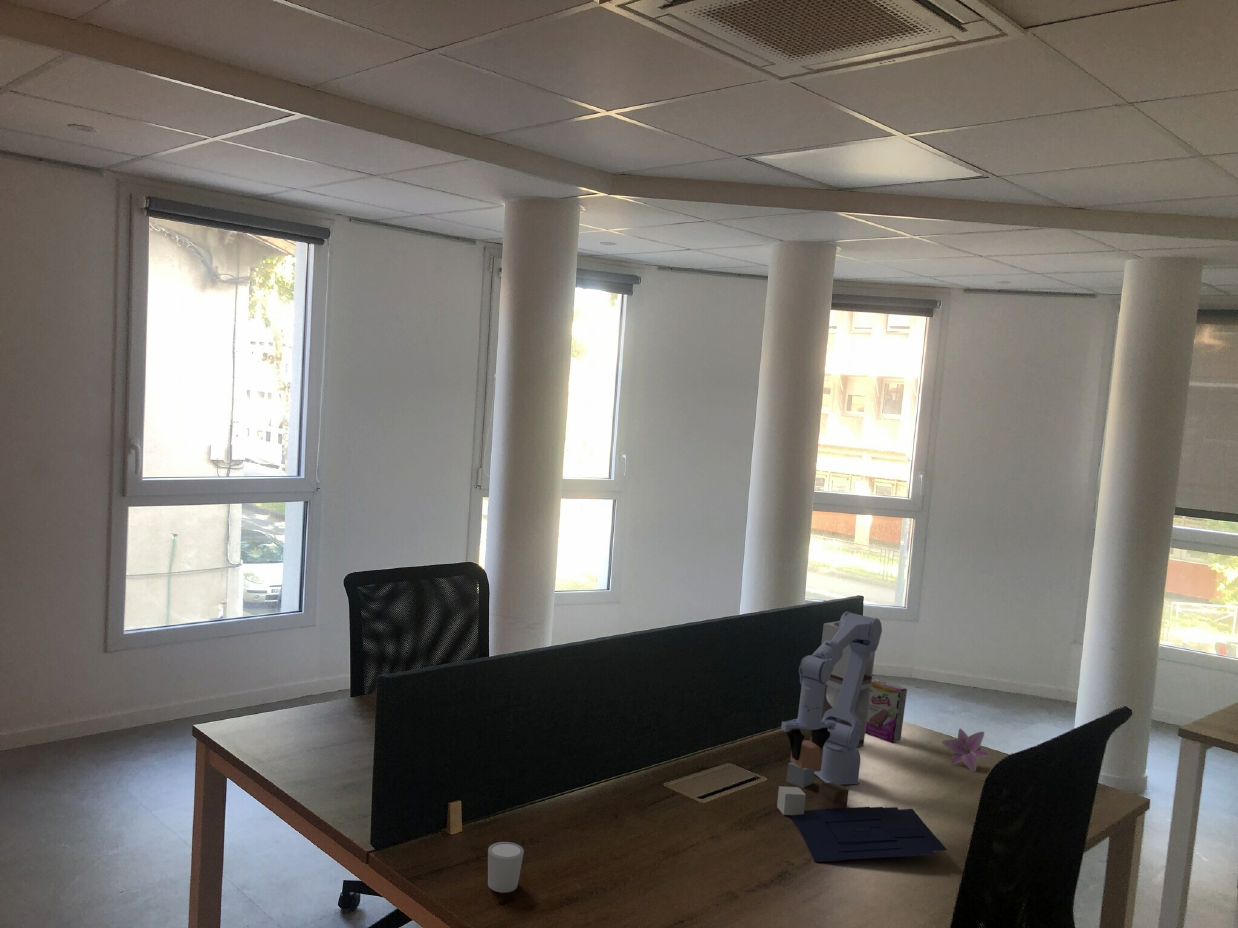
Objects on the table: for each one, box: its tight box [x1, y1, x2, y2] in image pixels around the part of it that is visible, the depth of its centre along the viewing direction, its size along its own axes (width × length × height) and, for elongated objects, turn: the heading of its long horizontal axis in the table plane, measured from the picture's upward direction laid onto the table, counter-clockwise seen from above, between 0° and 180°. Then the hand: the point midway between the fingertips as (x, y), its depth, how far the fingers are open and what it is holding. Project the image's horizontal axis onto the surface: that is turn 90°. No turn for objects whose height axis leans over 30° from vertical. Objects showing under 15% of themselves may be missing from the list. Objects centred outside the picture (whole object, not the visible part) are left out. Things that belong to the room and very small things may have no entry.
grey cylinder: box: [487, 841, 525, 893], centre depth 183 cm, size 7×7×7 cm
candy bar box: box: [865, 678, 908, 744], centre depth 290 cm, size 11×5×16 cm, turn 46°
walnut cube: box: [816, 782, 850, 809], centre depth 235 cm, size 5×5×5 cm
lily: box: [941, 728, 991, 772], centre depth 274 cm, size 12×12×10 cm
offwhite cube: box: [776, 785, 807, 816], centre depth 229 cm, size 5×5×5 cm
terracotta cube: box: [789, 739, 822, 769], centre depth 237 cm, size 5×5×5 cm
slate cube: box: [785, 761, 815, 789], centre depth 248 cm, size 5×5×5 cm
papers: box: [789, 806, 948, 862], centre depth 218 cm, size 24×30×4 cm
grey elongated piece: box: [809, 620, 876, 749], centre depth 279 cm, size 11×11×35 cm
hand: (804, 757), depth 237 cm, fingers closed on terracotta cube, 5 cm apart
